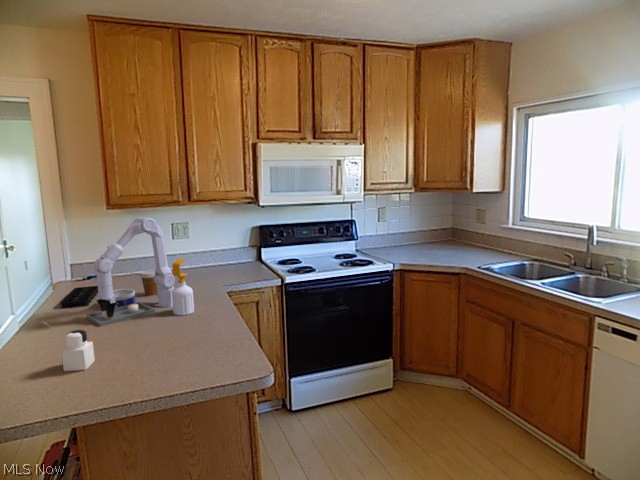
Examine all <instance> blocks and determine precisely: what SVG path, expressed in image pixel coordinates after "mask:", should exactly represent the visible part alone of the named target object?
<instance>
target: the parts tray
mask: <svg viewBox="0 0 640 480" xmlns="http://www.w3.org/2000/svg"><path fill="white" fill-rule="evenodd" d="M134 304H138V308H139V312H137V313H133V314H130V313H128V305H126V306H121V307H117V308H115V309H114V318H113V319H110V320H103V314H102V310H100V311H96V312H93V313H88V314H86V315H85V316H86V317H85V318H86V319H87V320H89V321H90V322H91V323H93V324H95V325H96V326H98V327H104V326H107V325H112V324H115V323H119V322H124V321H127V320H130V319H135V318H138V317H142V316H147V315H150V314H154V313H156V308H154V307H151V306H149V305H147V304H145V303H142V302H140V301H139V302H135V303H134Z"/></svg>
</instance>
